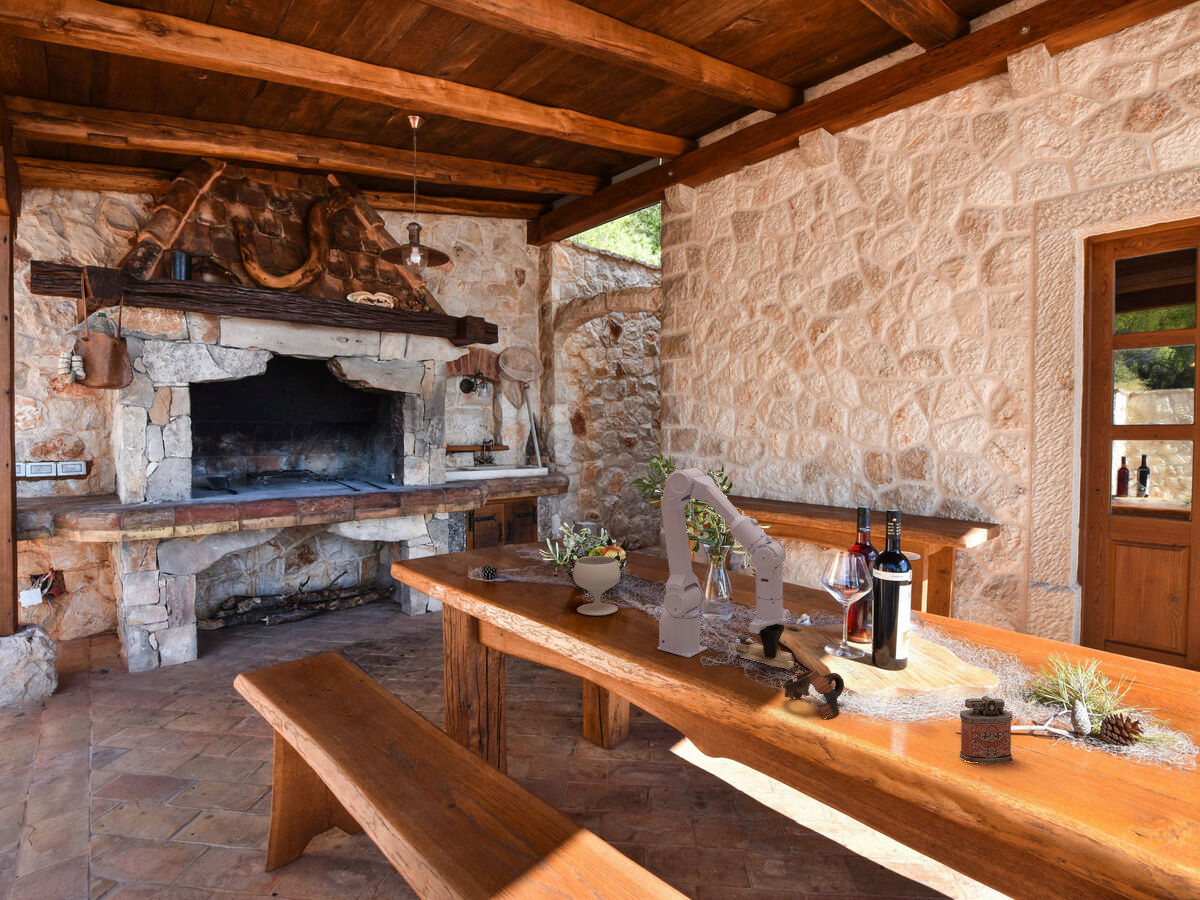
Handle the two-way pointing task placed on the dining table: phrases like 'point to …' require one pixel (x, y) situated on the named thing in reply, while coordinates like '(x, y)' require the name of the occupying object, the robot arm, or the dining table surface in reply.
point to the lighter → (986, 731)
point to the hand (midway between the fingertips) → (770, 657)
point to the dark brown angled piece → (817, 689)
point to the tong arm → (759, 650)
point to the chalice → (596, 581)
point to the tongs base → (762, 658)
